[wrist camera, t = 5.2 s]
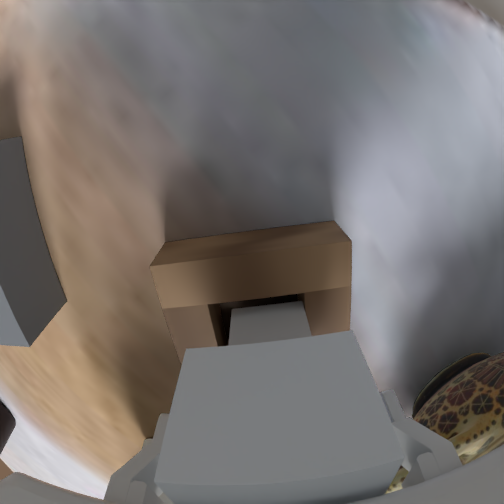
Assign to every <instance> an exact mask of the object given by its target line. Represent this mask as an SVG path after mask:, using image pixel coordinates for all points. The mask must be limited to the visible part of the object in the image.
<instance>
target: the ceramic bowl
mask: <svg viewBox="0 0 504 504" xmlns="http://www.w3.org/2000/svg"><path fill="white" fill-rule="evenodd" d="M412 417H413V420H415V421H416V422H418V423H420V424H421V425H423V426H425V427H426V428H428V429H430V430H431V431H433V432H435V433H437V434H438V435H440V436H442V437H443V438H445V439H447V440H449V441H450V442H452V444H453V446H454V448H455V450H456V452H457V454H458V456H459V459H460V461H461V463H462V465H465V464H467V463H469V462H471V461H473V460H475V459H477V458H479V457H481V456H483V455H485V454H487V453H489V452H491V451H493V450H494V449H496V448H498V447H500V446H502V445H503V444H504V352H503V353H499V354H497V355H494V356H492V357H491V356H490V355H489V354H487V353H473V354H470V355H468V356H466V357H464V358H462V359H460V360H458V361H456V362H455V363H453V364H451V365H450V366H448V367H447V368H445V369H443V370H442V371H441V372H440V373H438V374H437V375H436V376H435V377H434V378H433V379H432V380H431V381H430V382H429V383H428V384H427V385H426V387H425V388H424V389H423V390H422V391H421V393H420V394H419V396H418V398H417V400H416V402H415V404H414V407H413V415H412ZM408 473H409V471H408V470H406V469H405V468H404V467H403V466H400V468H399V470H398V471H397V473H396V475H395V477H394V479H393V481H392V482H391V484H390V486H389V488H388V489H387V491H386V493H385V494H387V493H391V492H394V491H397V490H400V489H403V488H402V485H401V484H402V483H403V481H404V479H405V478H406V476H407V474H408Z"/></svg>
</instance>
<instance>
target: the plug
mask: <svg viewBox="0 0 504 504" xmlns="http://www.w3.org/2000/svg"><path fill="white" fill-rule="evenodd" d="M404 458H405V457H404V455H403V452H402V449H401V446H400V444H399V441H398V439H397V436H396V433H395V431H394V428H393V426H392V423H391V420H390V418H389V415H388V413H387V410H386V408H385V405H384V403H383V401H382V398H381V396H380V393H379V391H378V388H377V386H376V384H375V381H374V379H373V377H372V374H371V372H370V369H369V367H368V365H367V363H366V360H365V358H364V356H363V353H362V351H361V349H360V347H359V344H358V342H357V340H356V338H355V335H354V333H353V331H352V330H349V331H343V332H337V333H331V334H324V335H317V336H312V335H311V331H310V327H309V324H308V320H307V316H306V313H305V309H304V305H303V302H302V301H297V302H289V303H281V304H273V305H264V306H255V307H246V308H237V309H232V313H231V323H230V334H229V344H228V346H219V347H206V348H189V349H186V351H185V355H184V359H183V362H182V366H181V370H180V374H179V378H178V382H177V386H176V389H175V393H174V397H173V401H172V405H171V410H170V414H169V418H168V422H167V426H166V430H165V434H164V439H163V443H162V447H161V452H160V456H159V460H158V465H157V469H156V474H155V478H154V482H155V483H156V485H157V486H158V487H159V488H160V489H161V490H162V491H163V492H164V493H165V494H166V496H167V497H168V498H169V499H170V500H171V501H172V502H173V503H174V504H346V503H351V502H356V501H360V500H364V499H368V498H372V497H376V496H380V495H384V494H385V493H386V491H387V489H388V488H389V486H390V484H391V482H392V481H393V479H394V477H395V475H396V473H397V471H398V470H399V468H400V466H401V464H402V462H403V460H404Z"/></svg>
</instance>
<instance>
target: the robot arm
mask: <svg viewBox="0 0 504 504" xmlns="http://www.w3.org/2000/svg"><path fill="white" fill-rule="evenodd" d="M379 393H380V396H381V398H382V401H383V403H384V405H385V408H386V410H387V413H388V415H389V418H390V420H391V423H392V426H393V428H394V431H395V433H396V436H397V439H398V441H399V444H400V446H401V449H402V452H403V455H404V457H405V458H404V460H403V462H402V464H401V466H403V467H404V468H405V469H406V470H408V471H409V473H408V474H407V476H406V478H405V479H404V481H403V483H402V484H401V485H402V488H403V489H400V490H397V491H394V492H391V493H387V494H384V495H380V496H376V497H372V498H368V499H364V500H360V501H356V502H351V503H346V504H504V444H503V445H502V446H500V447H498V448H496V449H494V450H493V451H491V452H489V453H487V454H485V455H483V456H481V457H479V458H477V459H475V460H473V461H471V462H469V463H467V464H465V465H462V463H461V461H460V459H459V456H458V454H457V452H456V450H455V448H454V446H453V444H452V442H450V441H449V440H447V439H445V438H443V437H442V436H440V435H438V434H437V433H435V432H433V431H431V430H430V429H428V428H426V427H425V426H423V425H421V424H420V423H418V422H416V421H415V420H413V419H411V418H406V416H405V414H404V412H403V409H402V407H401V405H400V403H399V401H398V399H397V396H396V394H395V392H394V390H392V389H390V390H386V391H382V392H379ZM168 418H169V414H164V413H161V414H160V416H159V418H158V422H157V425H156V429H155V432H154V436H153V440H152V444H148V445H147V446H146V447H144V448H143V449H142V450H141V451H140V452H139V453H137V454H136V455H135V456H134V457H133V458H132V459H130V460H129V461H128V462H127V463H126V464H125V465H123V466H122V467H121V468H120V469H119V470H117V471H116V472H115V473H114V474H113V475H111V478H110V481H109V484H108V488H107V491H106V494H105V497H104V500H102V499H98V498H94V497H90V496H87V495H83V494H80V493H76V492H73V491H70V490H67V489H63V488H60V487H57V486H55V485H52V484H49V483H46V482H43V481H41V480H38V479H36V478H33V477H31V476H28V475H26V474H24V473H20V472H15V473H13V474H11V475H9V476H7V477H6V478H4V479H2V480H1V481H0V504H165V503H164V502H163V501H162V500H161V499H160V498H159V496H160V495H161V494H162V492H163V491H162V490H161V489H160V488H159V487H158V486H157V485H156V483H155V482H154V478H155V474H156V469H157V465H158V460H159V456H160V452H161V447H162V443H163V439H164V434H165V430H166V426H167V422H168Z"/></svg>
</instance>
